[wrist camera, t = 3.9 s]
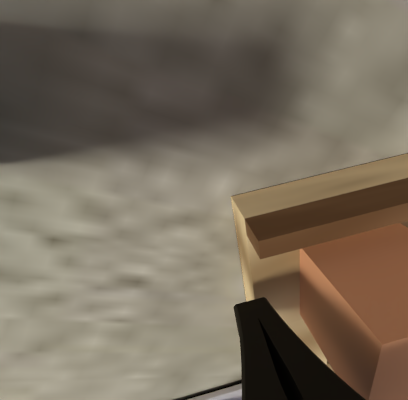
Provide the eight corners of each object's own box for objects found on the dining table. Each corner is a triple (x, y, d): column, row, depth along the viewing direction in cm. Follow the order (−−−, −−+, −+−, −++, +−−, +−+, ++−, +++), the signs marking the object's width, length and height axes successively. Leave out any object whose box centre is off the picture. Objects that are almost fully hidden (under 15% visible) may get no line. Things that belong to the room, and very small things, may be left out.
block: (380, 291, 13) (477, 384, 9) (299, 314, 13) (363, 420, 9) (395, 220, 11) (528, 301, 7) (299, 245, 11) (382, 344, 7)
